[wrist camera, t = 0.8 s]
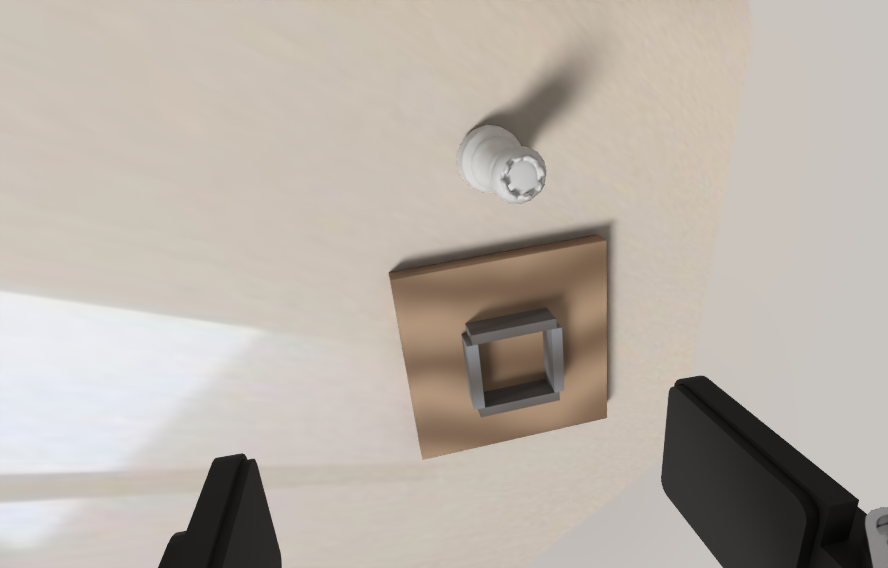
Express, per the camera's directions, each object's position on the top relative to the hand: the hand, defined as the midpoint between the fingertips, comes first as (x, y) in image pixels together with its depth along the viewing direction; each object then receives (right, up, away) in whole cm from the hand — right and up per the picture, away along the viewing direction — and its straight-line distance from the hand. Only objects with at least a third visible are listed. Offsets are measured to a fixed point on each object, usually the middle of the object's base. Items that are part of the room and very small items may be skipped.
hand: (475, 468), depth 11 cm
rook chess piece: (+2, +13, +24) cm, 27 cm away
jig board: (+4, -1, +30) cm, 30 cm away
